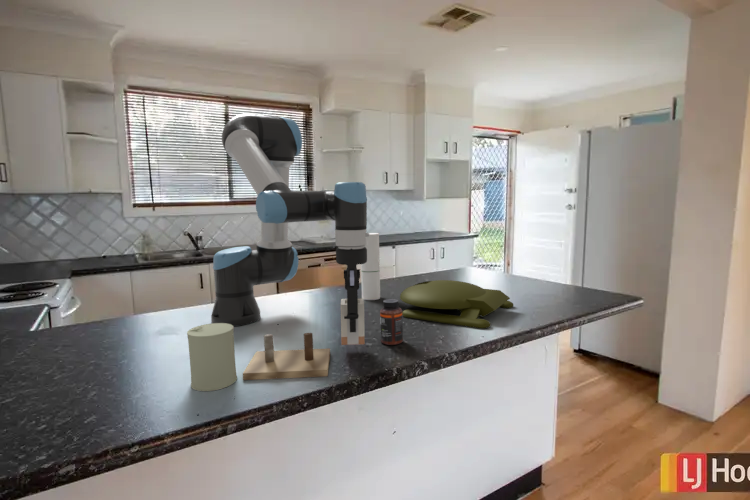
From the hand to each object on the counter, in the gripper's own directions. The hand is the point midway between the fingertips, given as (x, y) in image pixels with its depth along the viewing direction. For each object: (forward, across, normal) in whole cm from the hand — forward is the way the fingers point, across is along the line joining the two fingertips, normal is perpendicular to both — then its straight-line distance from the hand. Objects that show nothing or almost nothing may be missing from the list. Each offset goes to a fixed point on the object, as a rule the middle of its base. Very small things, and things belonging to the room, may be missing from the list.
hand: (352, 339), depth 103 cm
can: (+4, -14, +30) cm, 33 cm away
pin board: (+4, -7, +15) cm, 17 cm away
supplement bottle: (+4, +6, -10) cm, 13 cm away
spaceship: (+4, +36, -33) cm, 49 cm away
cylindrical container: (+5, +57, -7) cm, 58 cm away
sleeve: (0, 0, 0) cm, 0 cm away
